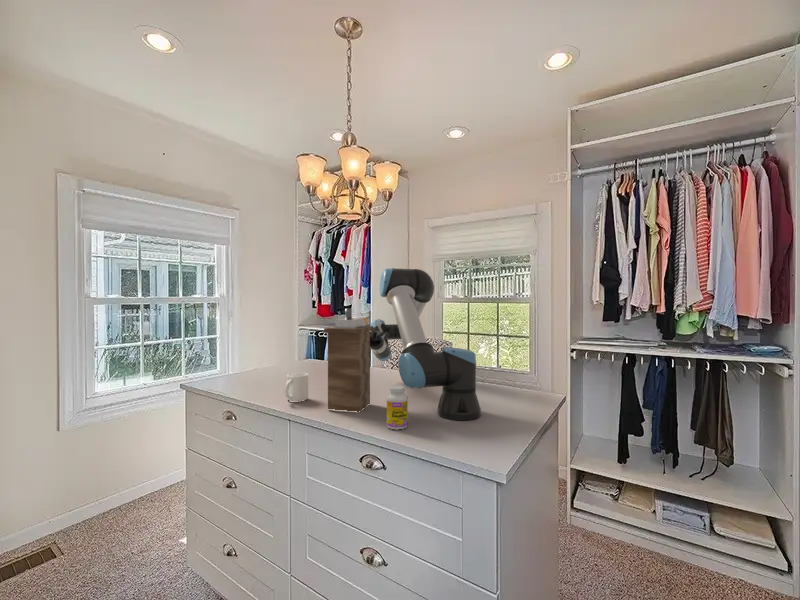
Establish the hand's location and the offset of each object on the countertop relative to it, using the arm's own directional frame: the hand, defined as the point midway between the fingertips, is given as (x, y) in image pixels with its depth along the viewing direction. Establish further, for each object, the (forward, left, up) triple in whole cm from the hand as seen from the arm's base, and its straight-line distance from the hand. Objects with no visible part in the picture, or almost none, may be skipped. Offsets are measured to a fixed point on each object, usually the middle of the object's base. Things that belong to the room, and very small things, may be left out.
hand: (362, 321), depth 159 cm
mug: (+14, +23, -31) cm, 41 cm away
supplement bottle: (-36, +16, -31) cm, 50 cm away
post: (-8, +13, -31) cm, 35 cm away
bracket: (-5, +8, -1) cm, 9 cm away
